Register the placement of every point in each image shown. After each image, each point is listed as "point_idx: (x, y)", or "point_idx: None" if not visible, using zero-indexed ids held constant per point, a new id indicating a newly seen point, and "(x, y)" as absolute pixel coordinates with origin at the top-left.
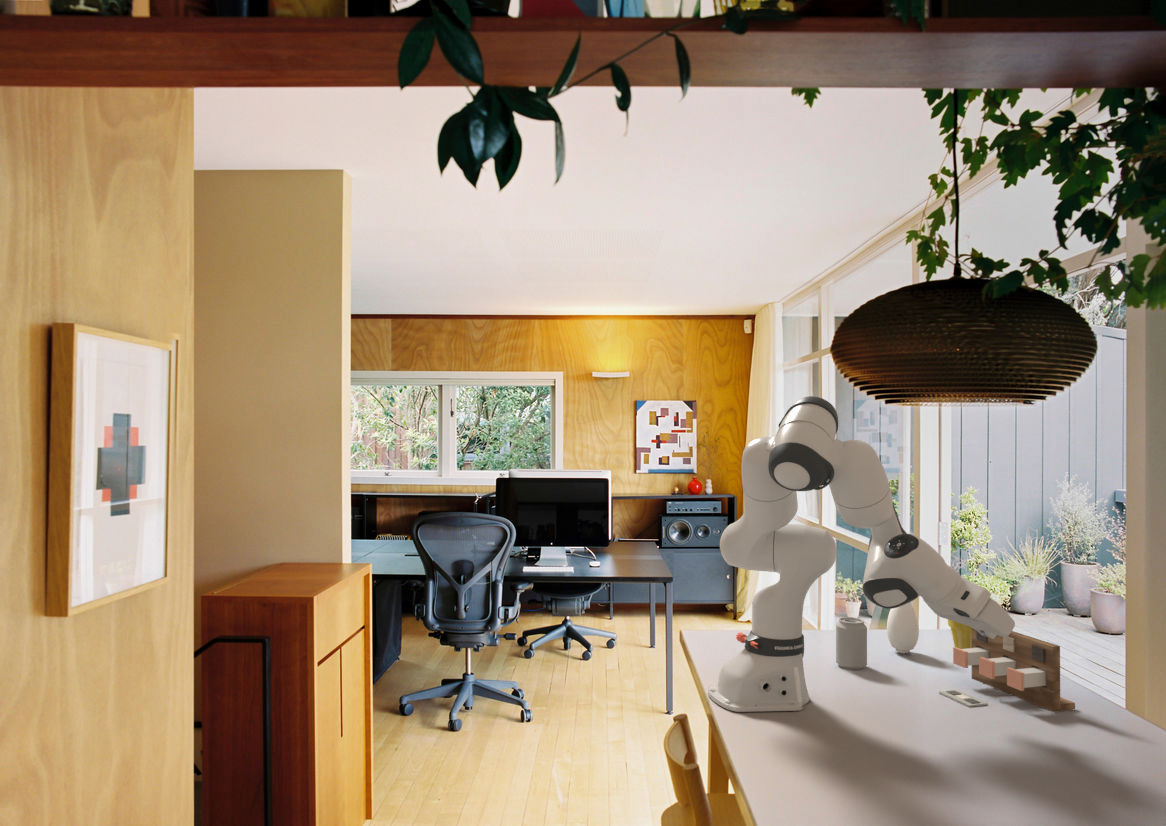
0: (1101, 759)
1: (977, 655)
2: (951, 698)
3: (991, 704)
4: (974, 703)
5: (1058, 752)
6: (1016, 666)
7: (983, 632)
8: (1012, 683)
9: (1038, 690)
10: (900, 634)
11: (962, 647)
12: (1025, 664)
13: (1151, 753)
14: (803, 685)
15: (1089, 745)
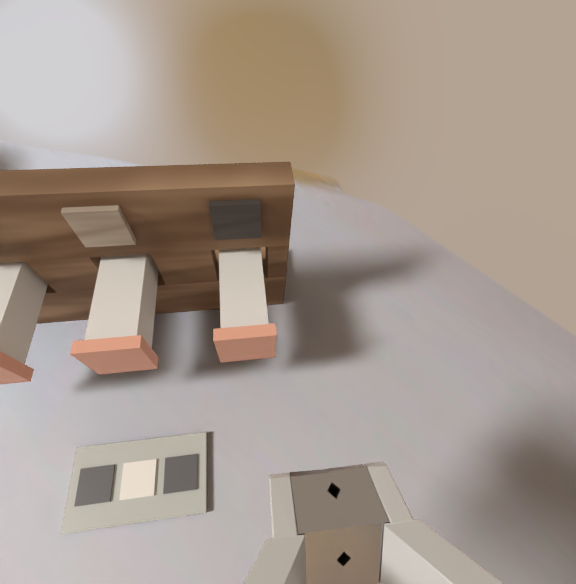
0: (552, 405)
1: (16, 310)
2: (125, 524)
3: (203, 415)
4: (197, 478)
5: (534, 483)
6: (151, 264)
7: (346, 580)
8: (241, 356)
9: None
10: None
11: None
12: (188, 255)
13: (493, 287)
14: None
15: (473, 370)
